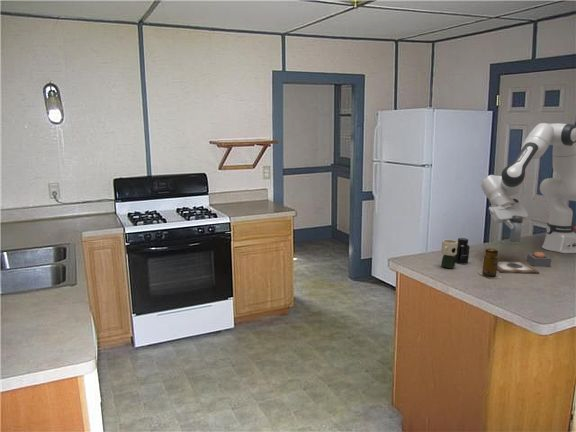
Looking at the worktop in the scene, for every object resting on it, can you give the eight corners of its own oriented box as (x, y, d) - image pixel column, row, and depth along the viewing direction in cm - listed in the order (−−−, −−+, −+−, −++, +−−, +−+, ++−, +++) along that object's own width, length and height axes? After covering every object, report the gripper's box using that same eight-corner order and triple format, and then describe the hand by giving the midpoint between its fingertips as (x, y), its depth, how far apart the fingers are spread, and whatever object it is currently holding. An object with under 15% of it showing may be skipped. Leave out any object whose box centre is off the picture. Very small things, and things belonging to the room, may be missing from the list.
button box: (542, 261, 241) (543, 254, 241) (550, 266, 234) (551, 258, 233) (526, 261, 242) (527, 253, 241) (533, 266, 234) (534, 258, 233)
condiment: (491, 272, 224) (493, 247, 222) (503, 277, 216) (505, 252, 214) (477, 273, 222) (479, 248, 220) (489, 279, 214) (491, 253, 212)
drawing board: (523, 263, 238) (524, 261, 238) (539, 273, 222) (539, 271, 222) (487, 262, 239) (487, 260, 238) (499, 272, 223) (500, 270, 223)
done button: (541, 257, 239) (541, 252, 239) (545, 259, 235) (546, 254, 234) (532, 256, 239) (532, 251, 239) (536, 259, 235) (537, 254, 234)
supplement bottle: (463, 265, 234) (465, 241, 232) (450, 261, 239) (452, 238, 237) (470, 262, 239) (473, 239, 236) (458, 259, 244) (460, 236, 241)
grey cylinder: (517, 239, 231) (520, 215, 229) (521, 242, 227) (524, 217, 224) (508, 239, 231) (510, 215, 229) (511, 242, 227) (514, 217, 225)
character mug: (450, 271, 224) (452, 244, 222) (436, 268, 229) (438, 241, 226) (459, 266, 232) (461, 240, 230) (445, 263, 237) (447, 237, 234)
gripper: (491, 202, 227) (506, 226, 220) (521, 199, 236) (536, 222, 229) (483, 209, 232) (497, 233, 225) (512, 207, 241) (527, 230, 234)
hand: (517, 228), depth 227 cm, fingers closed on grey cylinder, 4 cm apart
